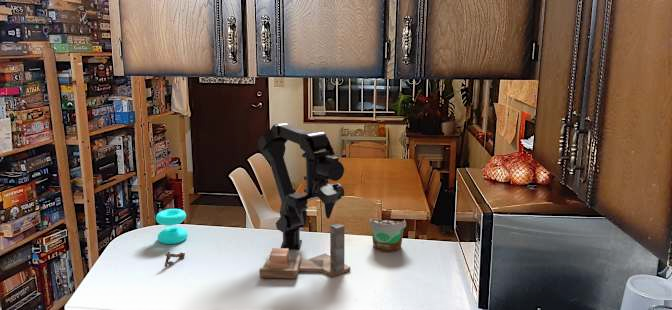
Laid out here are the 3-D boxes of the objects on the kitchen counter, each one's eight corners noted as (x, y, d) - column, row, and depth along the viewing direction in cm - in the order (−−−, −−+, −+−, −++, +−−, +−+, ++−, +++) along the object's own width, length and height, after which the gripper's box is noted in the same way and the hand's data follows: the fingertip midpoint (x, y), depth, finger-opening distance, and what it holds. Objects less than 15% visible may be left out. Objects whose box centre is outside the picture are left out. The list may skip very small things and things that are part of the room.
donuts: (184, 206, 180) (186, 215, 171) (187, 232, 182) (188, 243, 173) (155, 209, 177) (155, 219, 167) (157, 236, 179) (158, 247, 170)
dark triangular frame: (160, 266, 155) (164, 251, 155) (177, 265, 162) (180, 251, 163) (165, 267, 154) (168, 252, 155) (182, 266, 161) (185, 252, 162)
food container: (366, 252, 166) (367, 223, 163) (369, 244, 172) (369, 217, 169) (404, 255, 164) (405, 226, 161) (405, 247, 169) (406, 219, 167)
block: (273, 263, 156) (272, 248, 154) (289, 263, 155) (288, 248, 154) (270, 270, 151) (269, 255, 150) (286, 271, 151) (286, 255, 149)
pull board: (245, 269, 154) (243, 223, 150) (310, 247, 169) (309, 205, 165) (283, 296, 138) (281, 246, 135) (350, 270, 153) (350, 224, 149)
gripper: (306, 185, 141) (307, 237, 145) (356, 173, 153) (356, 221, 157) (284, 176, 150) (285, 226, 154) (333, 166, 161) (333, 212, 165)
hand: (316, 221), depth 157 cm, fingers open, 9 cm apart
